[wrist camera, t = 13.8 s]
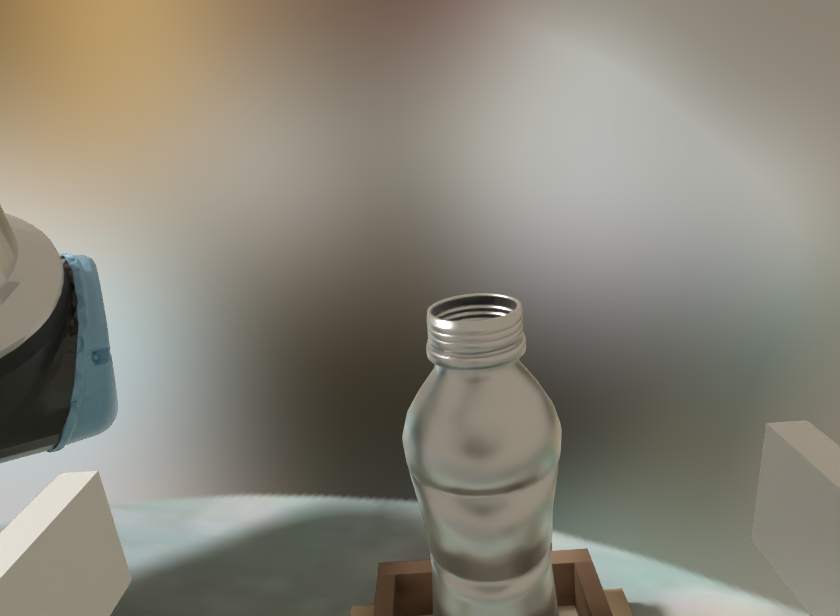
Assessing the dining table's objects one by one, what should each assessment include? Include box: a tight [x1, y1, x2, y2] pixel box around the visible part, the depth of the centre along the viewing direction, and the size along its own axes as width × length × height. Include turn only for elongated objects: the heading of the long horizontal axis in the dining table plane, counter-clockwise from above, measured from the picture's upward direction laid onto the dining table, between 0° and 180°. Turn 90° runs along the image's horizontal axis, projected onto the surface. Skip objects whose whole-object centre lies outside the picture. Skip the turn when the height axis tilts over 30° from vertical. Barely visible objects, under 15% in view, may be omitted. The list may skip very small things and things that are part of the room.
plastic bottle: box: [402, 293, 562, 616], centre depth 25 cm, size 6×7×20 cm
